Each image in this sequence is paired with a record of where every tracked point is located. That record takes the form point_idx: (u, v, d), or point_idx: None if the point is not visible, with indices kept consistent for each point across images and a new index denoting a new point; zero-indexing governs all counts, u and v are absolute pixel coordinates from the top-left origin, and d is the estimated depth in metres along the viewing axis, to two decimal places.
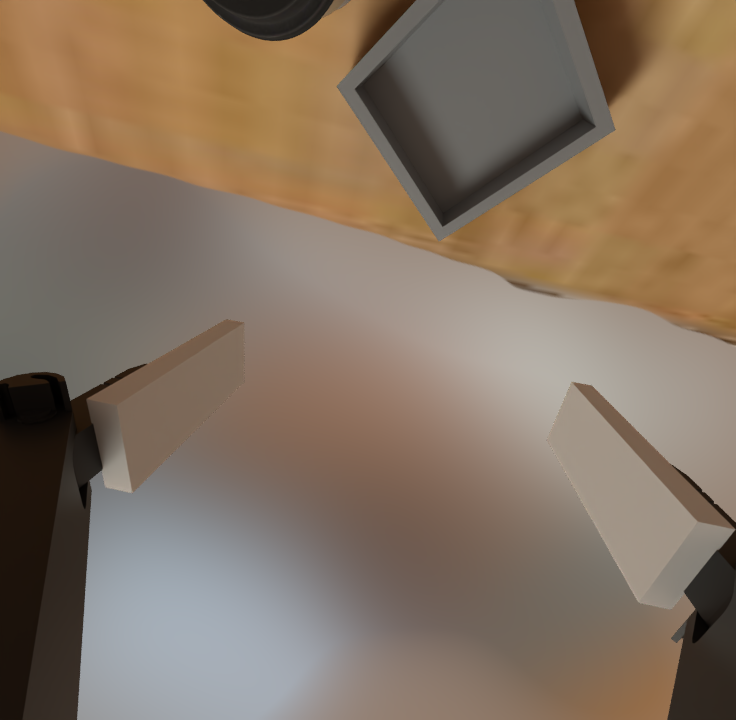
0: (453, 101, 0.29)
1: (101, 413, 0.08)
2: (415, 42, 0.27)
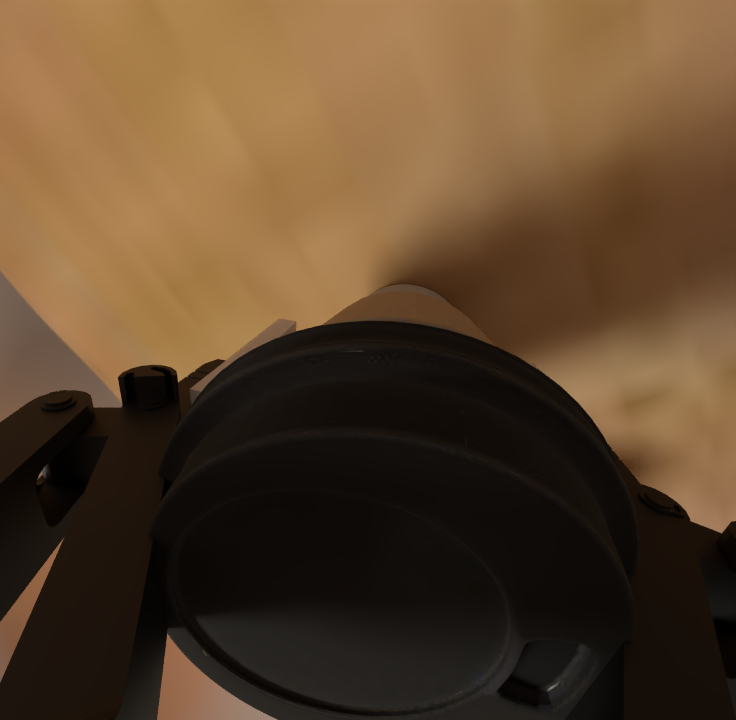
0: None
1: None
2: None
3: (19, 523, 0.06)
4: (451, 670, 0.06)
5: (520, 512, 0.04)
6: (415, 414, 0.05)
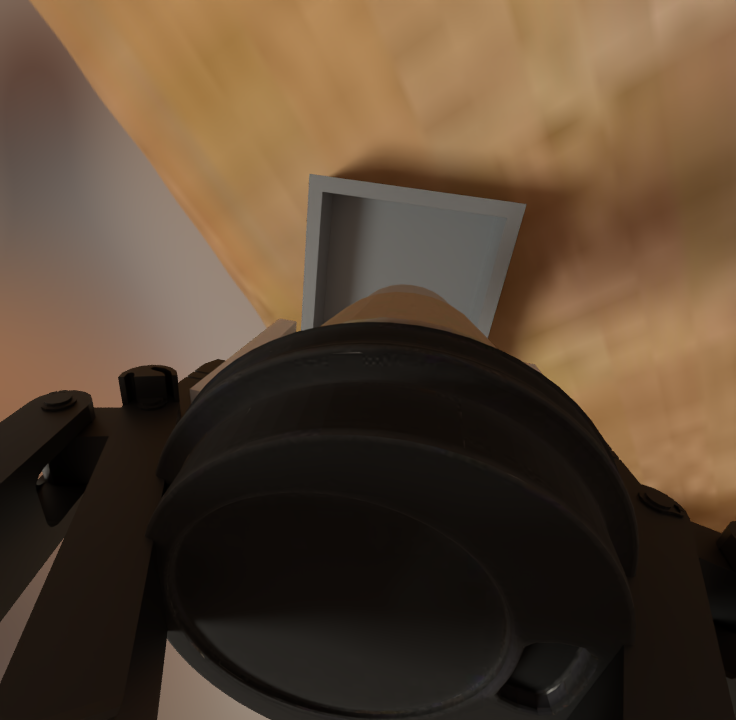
0: (389, 273, 0.30)
1: None
2: (393, 209, 0.28)
3: (19, 523, 0.06)
4: (450, 673, 0.06)
5: (518, 514, 0.04)
6: (413, 416, 0.04)
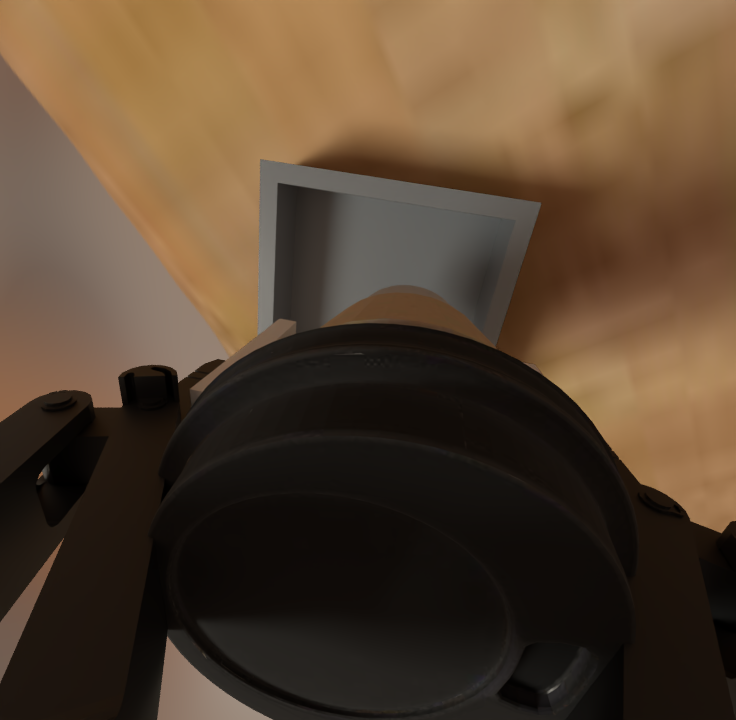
0: (367, 286, 0.24)
1: None
2: (372, 207, 0.22)
3: (19, 523, 0.06)
4: (451, 672, 0.06)
5: (519, 515, 0.04)
6: (415, 417, 0.05)
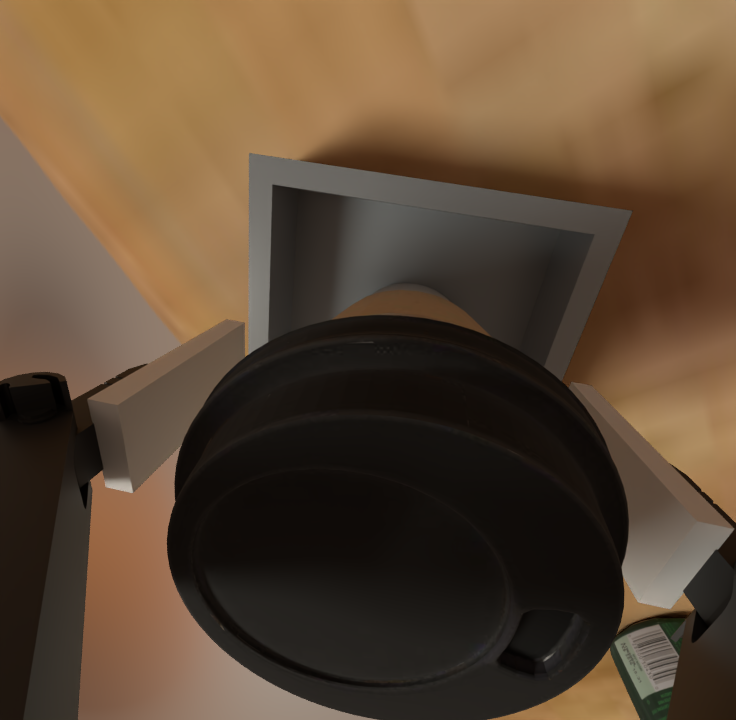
0: None
1: (102, 413, 0.08)
2: (393, 216, 0.18)
3: None
4: (454, 641, 0.07)
5: (518, 487, 0.05)
6: (422, 399, 0.05)
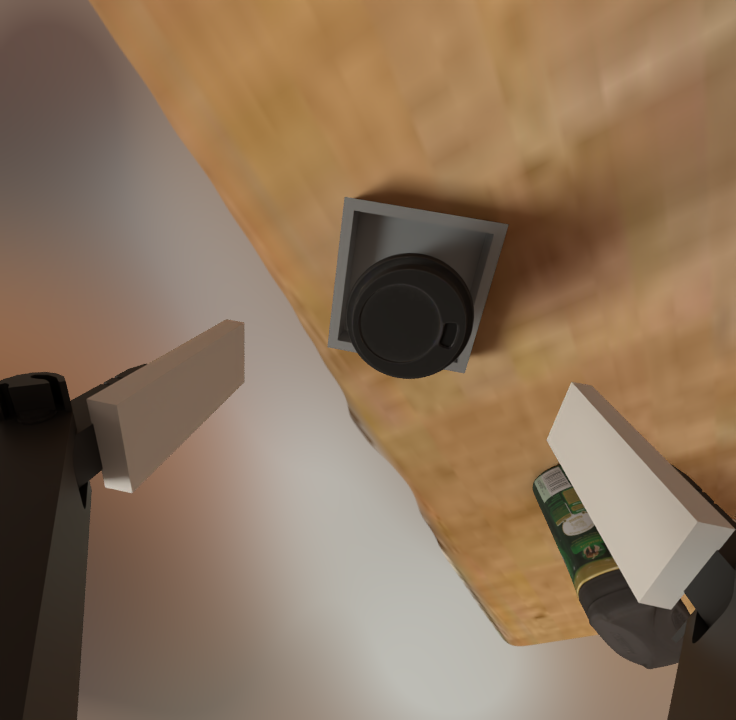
0: None
1: (101, 413, 0.08)
2: (406, 224, 0.36)
3: None
4: (427, 340, 0.25)
5: (439, 285, 0.23)
6: (419, 267, 0.23)
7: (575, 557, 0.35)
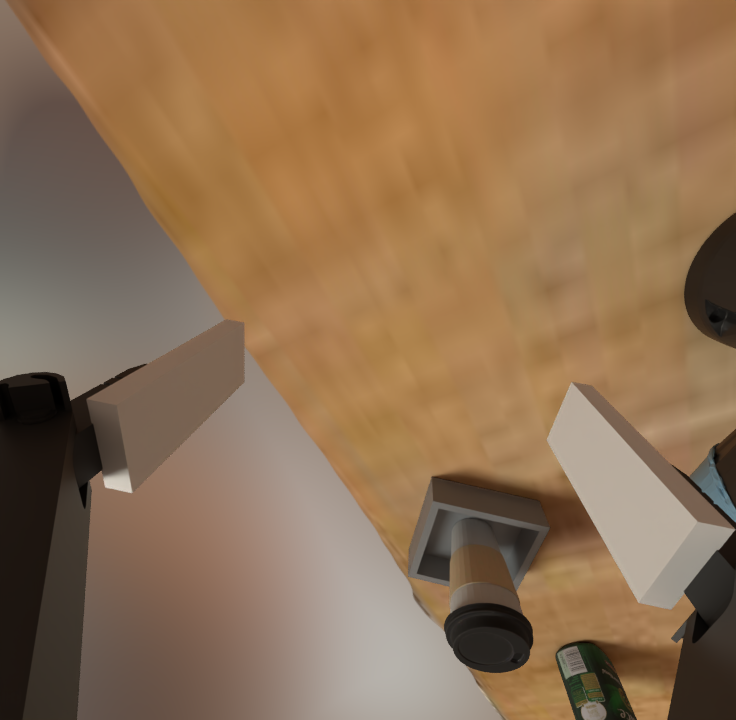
0: None
1: (101, 413, 0.08)
2: None
3: None
4: (502, 657, 0.37)
5: (514, 637, 0.36)
6: (501, 624, 0.36)
7: None
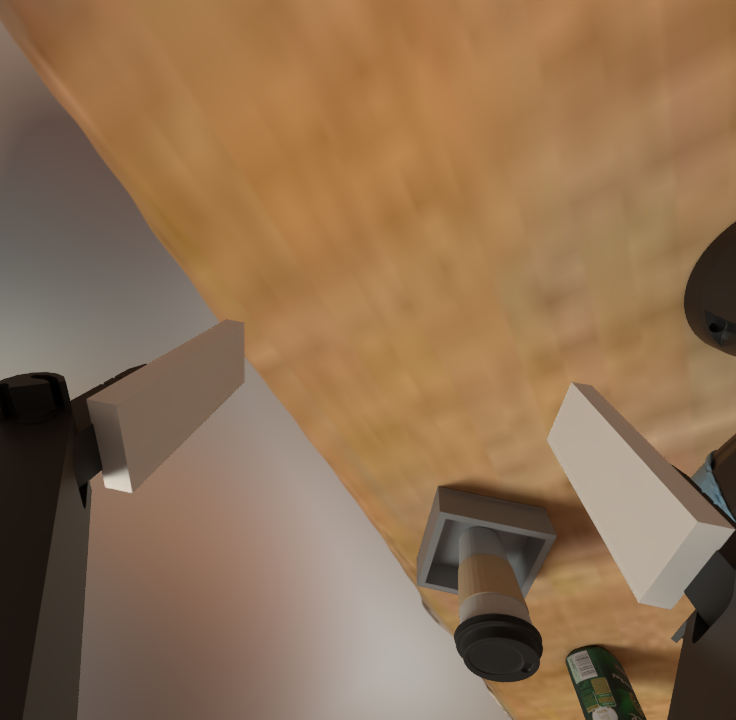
0: None
1: (101, 413, 0.08)
2: None
3: None
4: (513, 666, 0.38)
5: (524, 647, 0.36)
6: (511, 634, 0.36)
7: None
